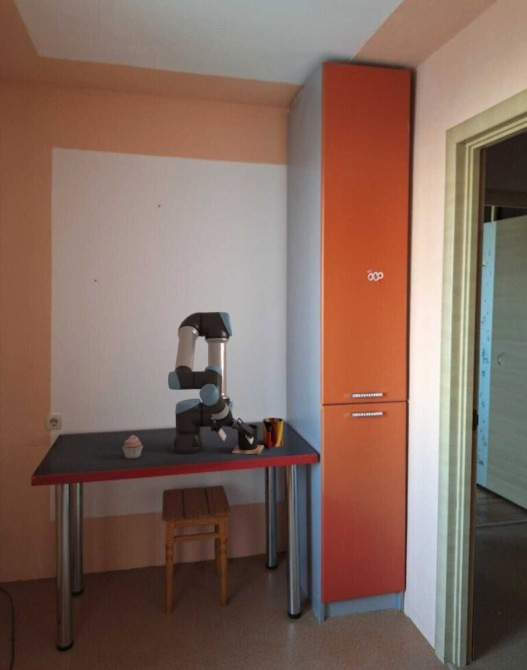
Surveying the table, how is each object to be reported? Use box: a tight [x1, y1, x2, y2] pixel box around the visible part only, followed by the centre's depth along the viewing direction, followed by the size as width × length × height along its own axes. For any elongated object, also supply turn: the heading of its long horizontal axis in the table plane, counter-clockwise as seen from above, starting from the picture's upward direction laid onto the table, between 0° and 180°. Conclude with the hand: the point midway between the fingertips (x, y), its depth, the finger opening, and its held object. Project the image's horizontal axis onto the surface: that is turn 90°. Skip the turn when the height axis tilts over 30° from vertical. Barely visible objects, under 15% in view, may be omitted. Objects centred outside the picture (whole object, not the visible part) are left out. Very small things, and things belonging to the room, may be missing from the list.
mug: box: [262, 417, 284, 449], centre depth 242 cm, size 10×14×12 cm
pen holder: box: [237, 423, 259, 450], centre depth 233 cm, size 9×9×10 cm
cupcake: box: [121, 434, 144, 460], centre depth 225 cm, size 9×9×10 cm
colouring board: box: [231, 444, 265, 456], centre depth 233 cm, size 12×12×1 cm
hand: (238, 439), depth 224 cm, fingers open, 13 cm apart
